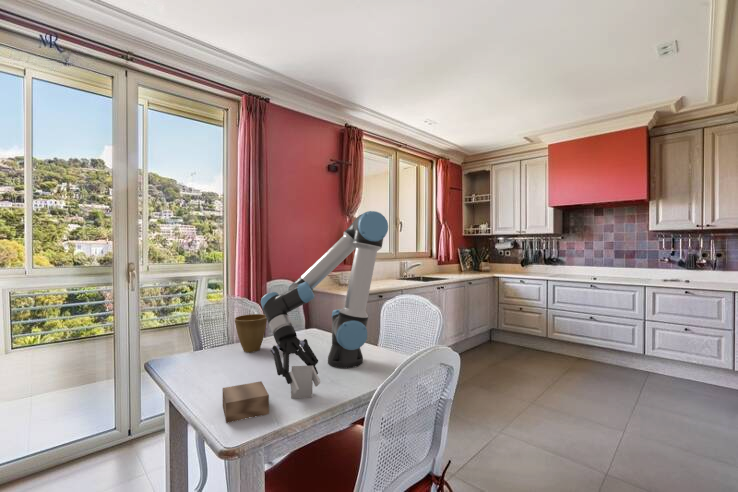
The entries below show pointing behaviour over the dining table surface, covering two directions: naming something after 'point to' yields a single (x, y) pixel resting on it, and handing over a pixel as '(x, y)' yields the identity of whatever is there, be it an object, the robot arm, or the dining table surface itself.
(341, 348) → the robot arm
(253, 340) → the plant pot
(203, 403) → the dining table surface
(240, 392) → the walnut block
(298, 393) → the small grey carton
